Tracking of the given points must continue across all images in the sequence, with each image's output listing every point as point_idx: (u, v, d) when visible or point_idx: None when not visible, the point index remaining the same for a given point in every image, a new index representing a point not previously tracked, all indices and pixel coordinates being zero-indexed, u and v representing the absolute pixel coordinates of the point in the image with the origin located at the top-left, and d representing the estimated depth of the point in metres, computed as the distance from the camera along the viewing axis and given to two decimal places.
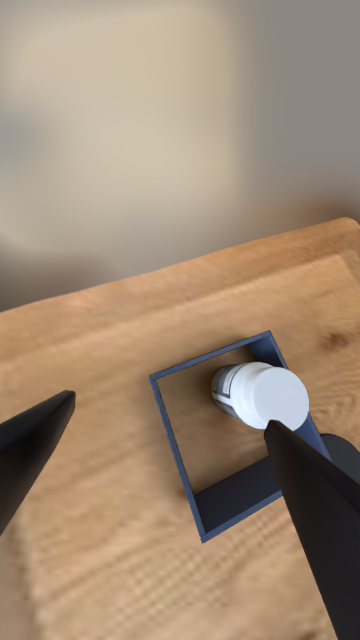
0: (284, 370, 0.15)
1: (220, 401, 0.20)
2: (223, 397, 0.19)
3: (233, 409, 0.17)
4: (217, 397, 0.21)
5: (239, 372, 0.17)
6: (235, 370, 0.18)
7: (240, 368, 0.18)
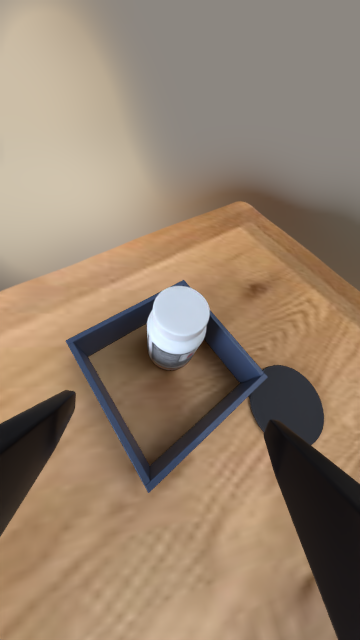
0: (181, 287, 0.16)
1: (151, 353, 0.20)
2: (149, 343, 0.19)
3: (153, 344, 0.17)
4: (150, 352, 0.21)
5: None
6: None
7: None
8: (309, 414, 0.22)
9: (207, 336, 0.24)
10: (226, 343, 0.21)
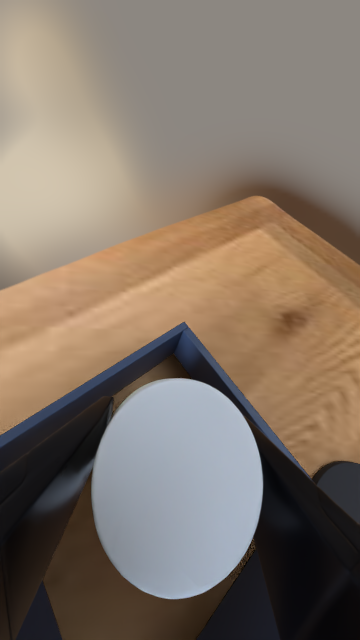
0: (181, 383, 0.06)
1: None
2: None
3: None
4: None
5: (113, 416, 0.08)
6: None
7: (120, 405, 0.08)
8: None
9: None
10: None
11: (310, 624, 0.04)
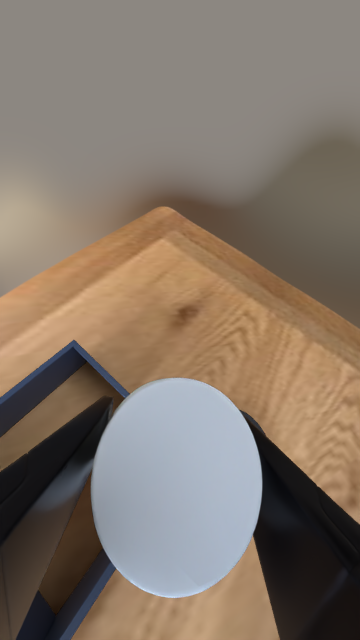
0: (180, 382, 0.06)
1: None
2: None
3: None
4: None
5: (112, 416, 0.08)
6: None
7: None
8: None
9: None
10: None
11: (310, 624, 0.04)
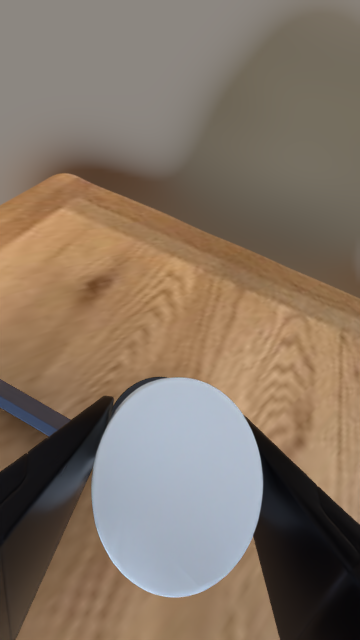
0: (181, 382, 0.06)
1: None
2: None
3: None
4: None
5: (113, 416, 0.08)
6: None
7: (120, 404, 0.08)
8: None
9: None
10: None
11: (310, 624, 0.04)
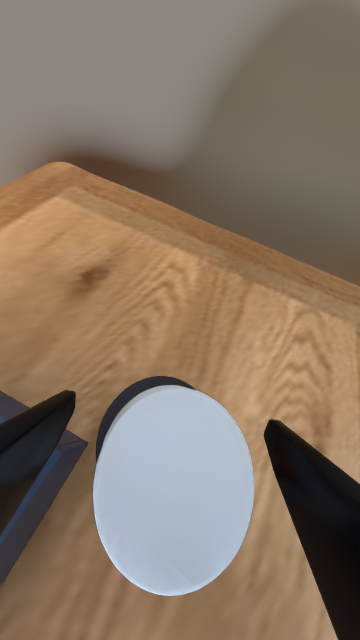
0: (178, 392, 0.06)
1: None
2: None
3: None
4: None
5: (113, 422, 0.08)
6: None
7: (121, 410, 0.09)
8: None
9: None
10: None
11: None
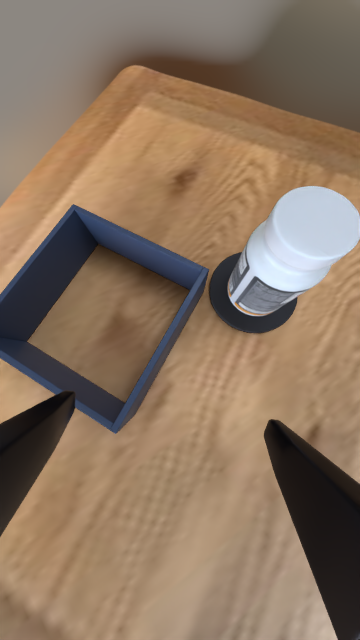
0: (312, 187, 0.11)
1: (241, 294, 0.16)
2: (241, 281, 0.15)
3: (257, 279, 0.13)
4: (237, 294, 0.17)
5: (254, 232, 0.13)
6: None
7: None
8: None
9: (140, 259, 0.20)
10: (155, 256, 0.17)
11: None
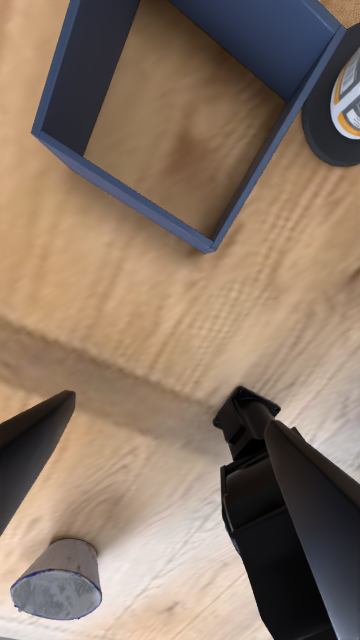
0: None
1: None
2: None
3: None
4: (356, 92, 0.13)
5: None
6: None
7: None
8: None
9: (223, 22, 0.13)
10: (264, 0, 0.11)
11: None
